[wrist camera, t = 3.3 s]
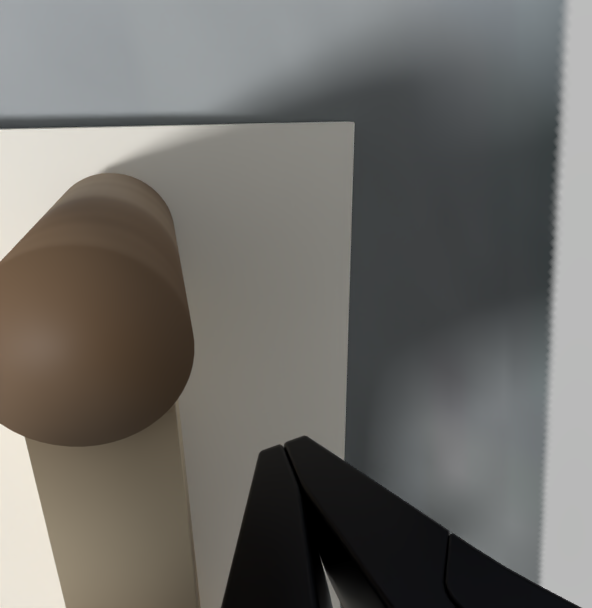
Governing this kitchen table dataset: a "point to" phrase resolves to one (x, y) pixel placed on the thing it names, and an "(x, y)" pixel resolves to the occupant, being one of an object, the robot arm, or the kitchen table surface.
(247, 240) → the card
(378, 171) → the kitchen table surface
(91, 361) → the fence gate
